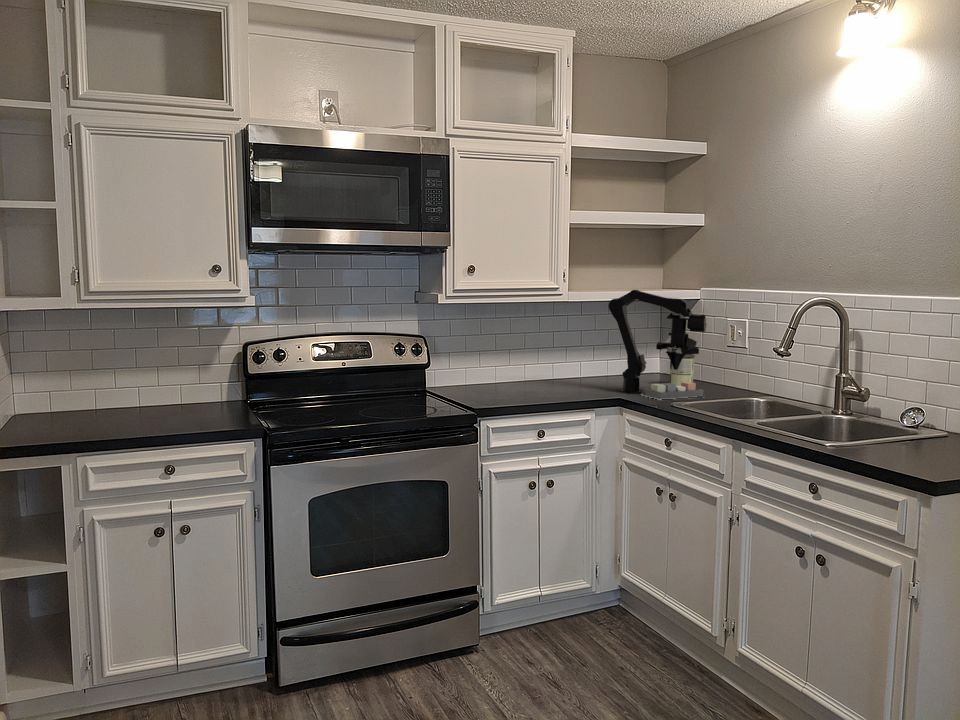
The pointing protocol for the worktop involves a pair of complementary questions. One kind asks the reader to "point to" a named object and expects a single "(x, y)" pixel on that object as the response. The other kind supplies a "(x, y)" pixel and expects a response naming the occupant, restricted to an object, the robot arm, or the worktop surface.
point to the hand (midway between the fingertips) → (675, 369)
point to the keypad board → (671, 394)
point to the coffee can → (682, 371)
